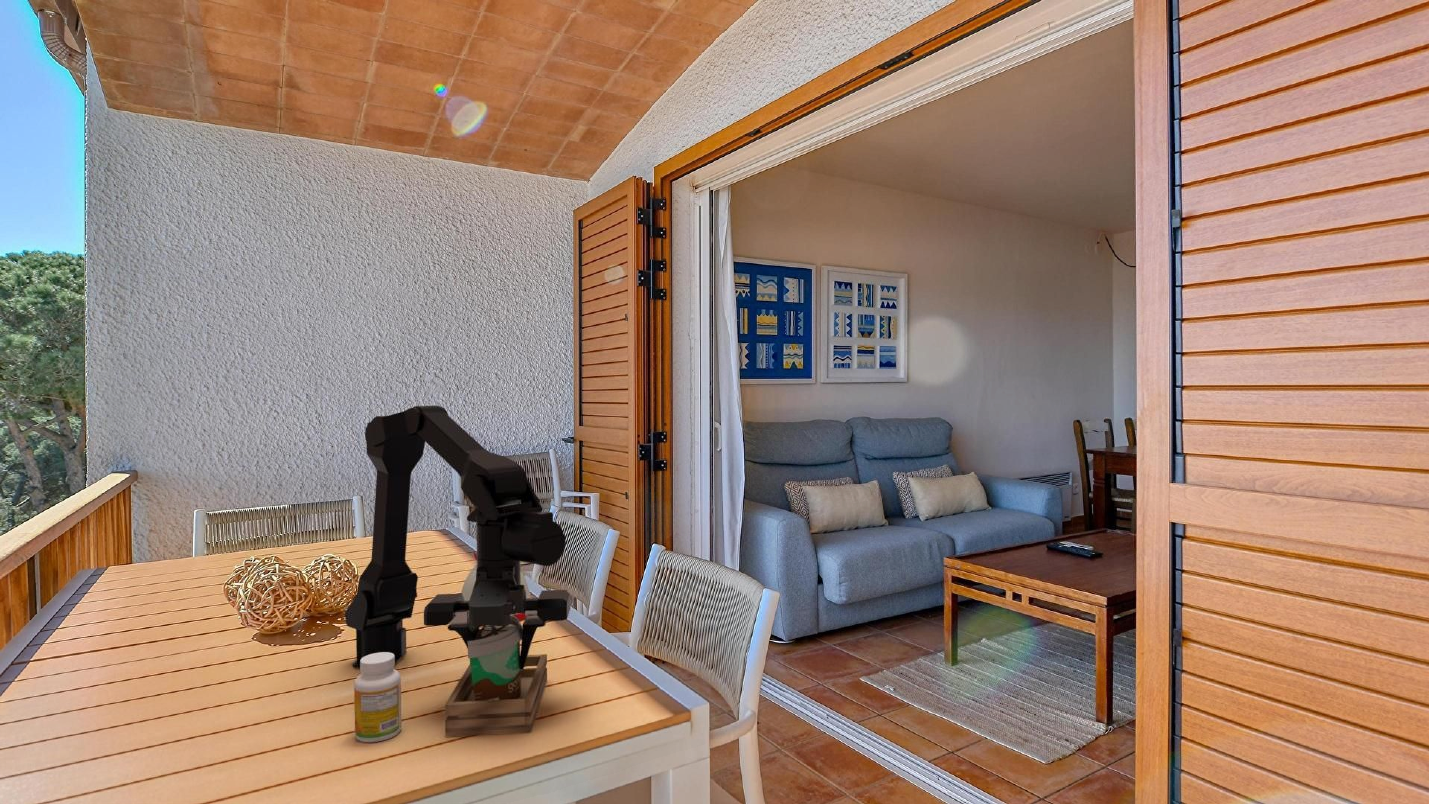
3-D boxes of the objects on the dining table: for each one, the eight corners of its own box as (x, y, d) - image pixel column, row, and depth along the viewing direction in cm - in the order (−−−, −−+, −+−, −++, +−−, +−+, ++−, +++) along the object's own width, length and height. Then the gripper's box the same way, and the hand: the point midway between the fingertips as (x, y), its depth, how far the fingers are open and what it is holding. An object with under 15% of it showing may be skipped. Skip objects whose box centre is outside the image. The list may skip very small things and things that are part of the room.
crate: (445, 736, 93) (444, 705, 93) (474, 684, 110) (473, 657, 110) (531, 732, 94) (530, 700, 94) (547, 680, 111) (546, 654, 111)
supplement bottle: (364, 724, 97) (363, 650, 97) (407, 722, 97) (406, 649, 97) (347, 744, 92) (346, 666, 91) (393, 742, 92) (392, 664, 92)
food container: (522, 713, 97) (515, 637, 96) (474, 719, 96) (466, 642, 96) (535, 676, 109) (528, 608, 109) (492, 681, 108) (485, 613, 108)
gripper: (410, 573, 93) (412, 697, 93) (562, 568, 95) (563, 689, 95) (434, 553, 104) (436, 664, 104) (570, 549, 106) (571, 658, 106)
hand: (500, 669), depth 102 cm, fingers closed on food container, 5 cm apart
